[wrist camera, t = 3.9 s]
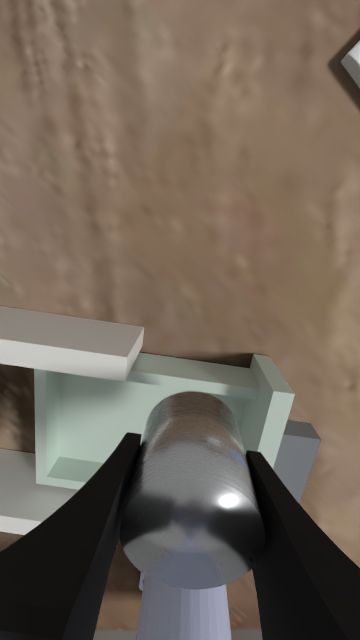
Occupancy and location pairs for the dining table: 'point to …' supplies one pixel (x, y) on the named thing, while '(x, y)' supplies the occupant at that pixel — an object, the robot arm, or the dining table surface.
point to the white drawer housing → (60, 356)
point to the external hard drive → (353, 63)
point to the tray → (143, 395)
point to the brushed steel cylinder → (192, 497)
